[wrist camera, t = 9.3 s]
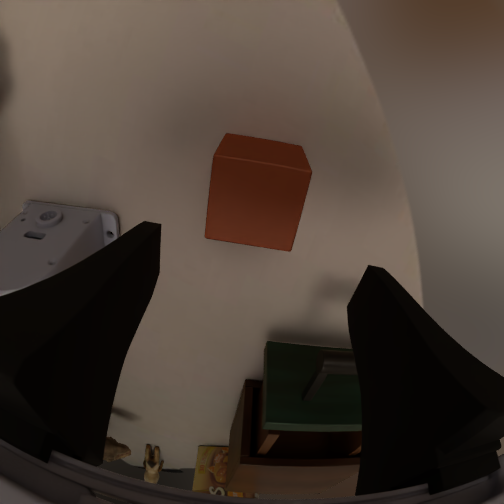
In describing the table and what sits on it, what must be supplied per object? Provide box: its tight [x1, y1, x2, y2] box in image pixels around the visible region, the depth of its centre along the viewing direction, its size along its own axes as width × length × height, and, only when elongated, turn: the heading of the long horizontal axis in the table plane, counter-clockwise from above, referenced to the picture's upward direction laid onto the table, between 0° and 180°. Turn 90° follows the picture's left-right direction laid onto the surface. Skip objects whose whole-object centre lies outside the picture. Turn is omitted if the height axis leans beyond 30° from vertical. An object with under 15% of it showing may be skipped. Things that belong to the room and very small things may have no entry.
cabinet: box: [225, 379, 361, 494], centre depth 28 cm, size 14×12×9 cm
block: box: [205, 133, 312, 252], centre depth 15 cm, size 4×4×4 cm
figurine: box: [143, 444, 164, 484], centre depth 44 cm, size 4×4×15 cm
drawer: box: [250, 341, 362, 459], centre depth 22 cm, size 17×10×7 cm, turn 171°
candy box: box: [192, 446, 259, 499], centre depth 33 cm, size 9×4×15 cm, turn 99°
